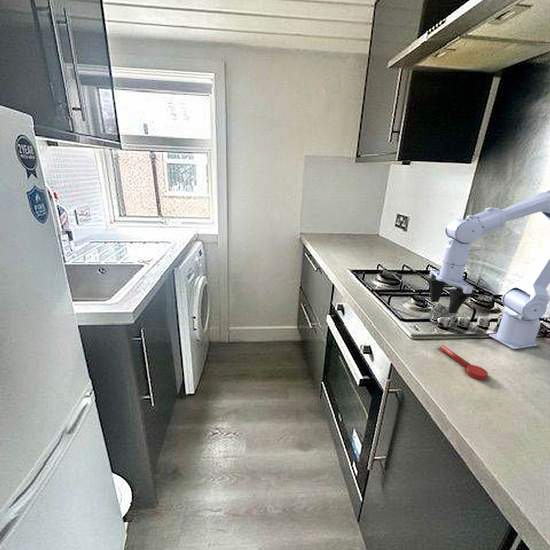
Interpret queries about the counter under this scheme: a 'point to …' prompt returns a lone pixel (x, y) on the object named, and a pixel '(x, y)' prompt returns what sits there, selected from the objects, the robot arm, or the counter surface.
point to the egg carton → (442, 314)
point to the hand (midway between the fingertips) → (443, 307)
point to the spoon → (467, 365)
